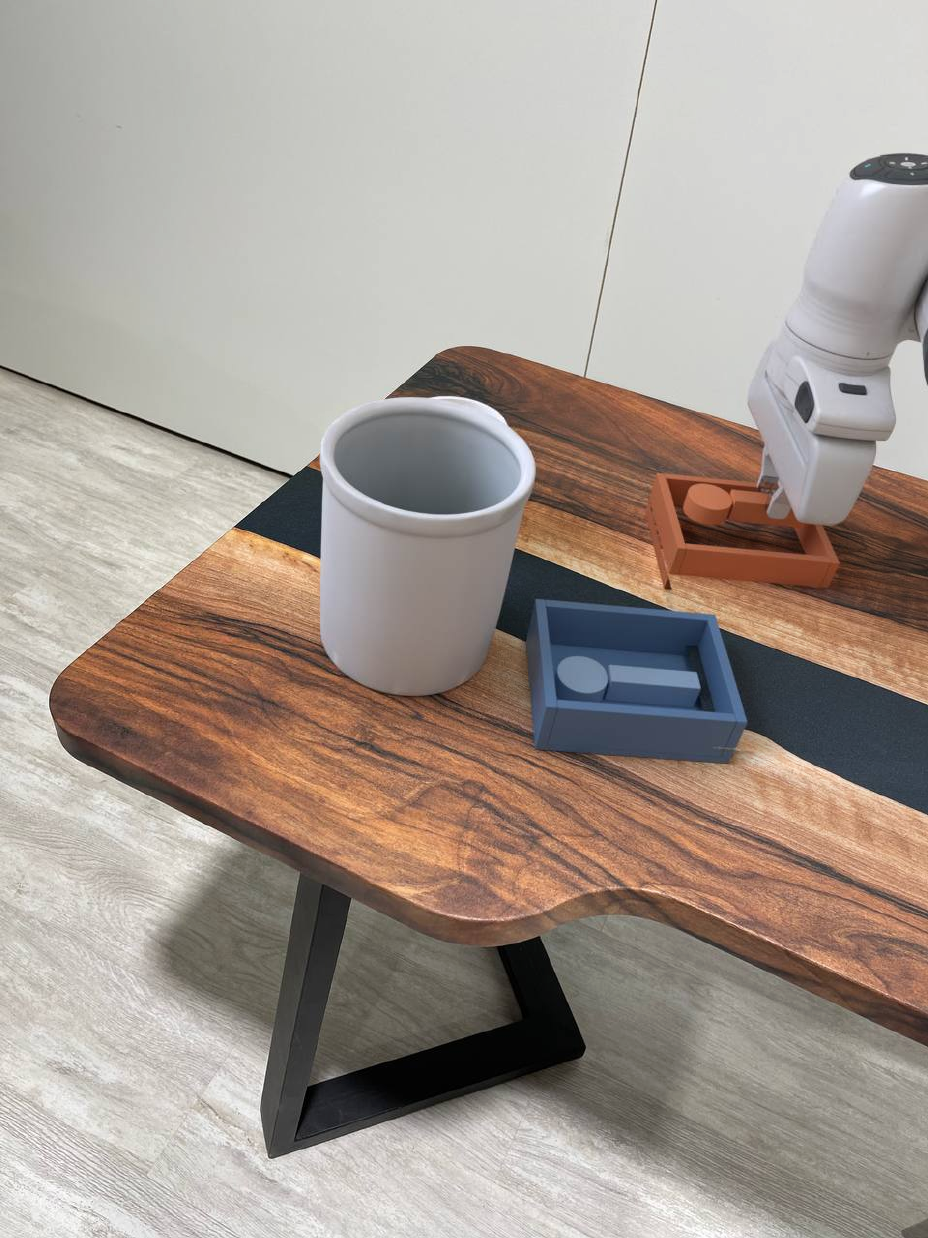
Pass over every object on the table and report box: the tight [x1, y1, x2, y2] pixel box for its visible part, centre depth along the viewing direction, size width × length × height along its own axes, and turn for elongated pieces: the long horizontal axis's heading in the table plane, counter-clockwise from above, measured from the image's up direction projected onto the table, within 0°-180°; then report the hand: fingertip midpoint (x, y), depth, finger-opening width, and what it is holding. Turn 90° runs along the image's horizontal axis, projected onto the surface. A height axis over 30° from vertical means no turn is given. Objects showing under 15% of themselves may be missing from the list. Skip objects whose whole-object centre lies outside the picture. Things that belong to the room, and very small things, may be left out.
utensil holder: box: [319, 396, 537, 697], centre depth 75 cm, size 15×15×18 cm
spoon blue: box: [554, 656, 702, 708], centre depth 78 cm, size 11×4×2 cm, turn 91°
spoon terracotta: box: [682, 484, 804, 529], centre depth 92 cm, size 11×4×2 cm, turn 90°
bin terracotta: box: [644, 472, 841, 590], centre depth 94 cm, size 15×12×5 cm
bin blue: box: [525, 598, 748, 765], centre depth 77 cm, size 15×12×5 cm
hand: (770, 504), depth 91 cm, fingers closed on spoon terracotta, 2 cm apart
